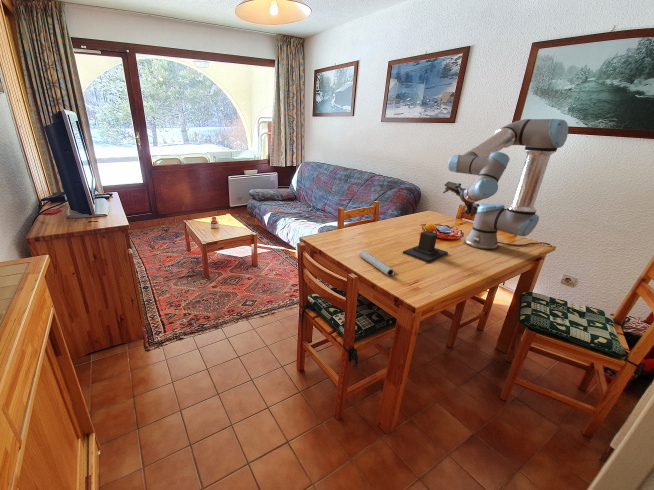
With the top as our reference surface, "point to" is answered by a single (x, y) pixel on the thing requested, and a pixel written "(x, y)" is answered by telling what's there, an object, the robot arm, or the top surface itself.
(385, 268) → the aluminum foil
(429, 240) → the black rectangular block
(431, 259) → the base pad
